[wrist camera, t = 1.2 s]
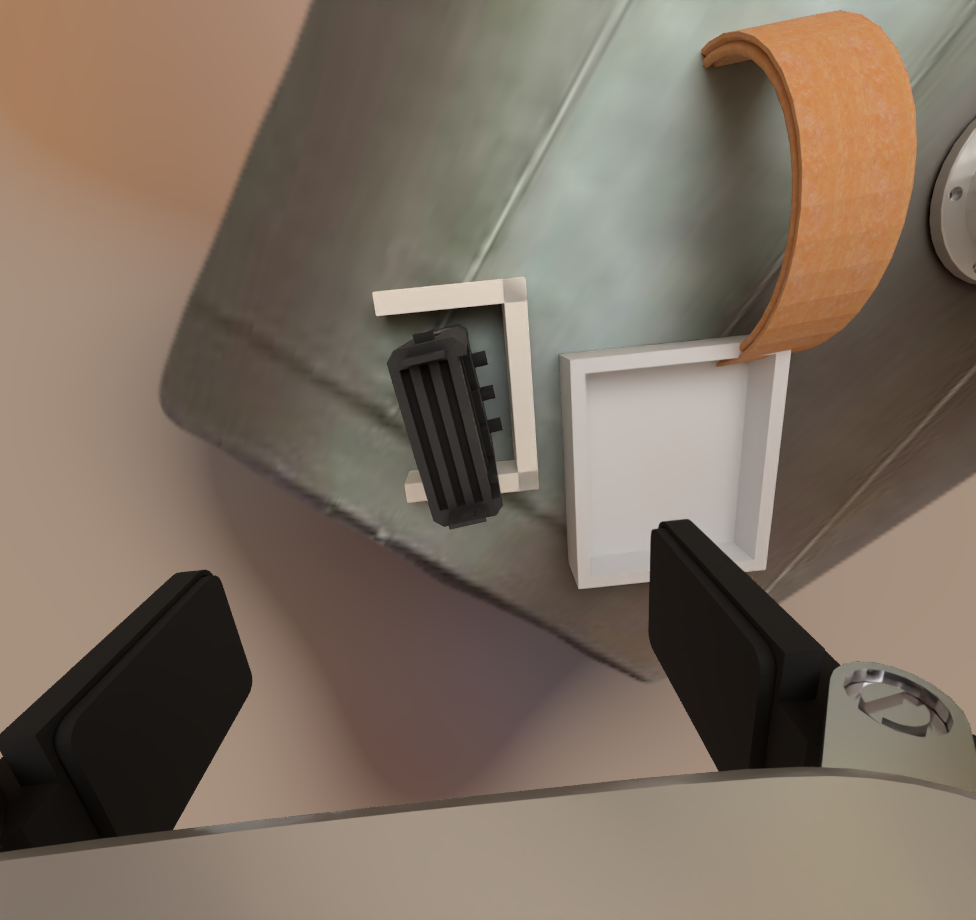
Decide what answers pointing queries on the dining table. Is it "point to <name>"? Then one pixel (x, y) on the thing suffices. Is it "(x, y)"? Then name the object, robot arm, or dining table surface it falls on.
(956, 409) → the dining table surface
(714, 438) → the parts tray
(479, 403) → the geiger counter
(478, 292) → the cream piece
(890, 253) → the arch
